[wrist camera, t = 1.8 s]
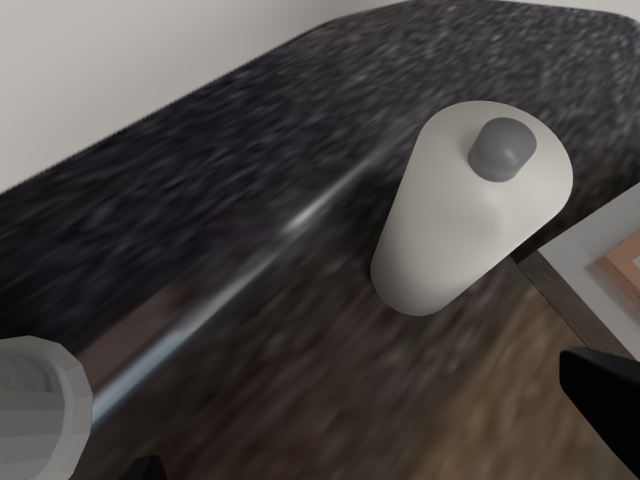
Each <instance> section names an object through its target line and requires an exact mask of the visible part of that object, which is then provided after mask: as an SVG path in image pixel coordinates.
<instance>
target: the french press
mask: <svg viewBox="0 0 640 480" xmlns="http://www.w3.org/2000/svg"><path fill="white" fill-rule="evenodd" d="M92 402H93V394H92V391H91V388H90V385H89V382H88V380H87V377H86V374H85V371H84V368H83V365H82V364H81V363H80V362H79V361H78V360H77V359H76V358H75V357H74V356H73V355H72V354H71V353H69V352H68V351H67V350H66V349H65V348H64V347H63V346H62V345H61V344H59V343H56V342H52V341H48V340H45V339H41V338H37V337H33V336H30V335H29V336H22V337H15V338H8V339H1V340H0V480H68V479H69V478H70V477H71V475H72V474H73V472H74V470H75V467H76V465H77V463H78V461H79V458H80V456H81V454H82V451H83V449H84V447H85V444H86V442H87V440H88V438H89V435H90V429H91V416H92Z"/></svg>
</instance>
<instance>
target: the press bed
mask: <svg viewBox="0 0 640 480" xmlns="http://www.w3.org/2000/svg"><path fill="white" fill-rule="evenodd" d="M517 265H518V266H519V267H520V269H521V270H522V271H523V272H524V273H525V274H526V275H527V277H528V278H529V279H530V280H531V281H532V282H533V284H534V285H535V286H536V287H537V288H538V289H539V291H540V292H541V293H542V294H543V295H544V296H545V298H546V299H547V300H548V301H549V302H550V303H551V304H552V306H553V307H554V308H555V309H556V310H557V311H558V313H559V314H560V315H561V316H562V317H563V318H564V320H565V321H566V322H567V323H568V324H569V325H570V327H571V328H572V329H573V330H574V331H575V332H576V333H577V335H578V336H579V337H580V338H581V339H582V340H583V342H584V343H585V344H586V345H587V346H588V347H589V348H590V349H594V350H597V351H601V352H605V353H609V354H613V355H617V356H620V357H624V358H628V359H632V360H636V361H639V362H640V182H639V183H638V184H636V185H635V186H633V187H632V188H630V189H629V190H627V191H626V192H624V193H623V194H621V195H619V196H618V197H616V198H615V199H613V200H612V201H610V202H609V203H607V204H606V205H604V206H603V207H601V208H600V209H598V210H597V211H595V212H594V213H592V214H591V215H589V216H588V217H586V218H585V219H583V220H582V221H580V222H578V223H577V224H575V225H574V226H572V227H571V228H569V229H568V230H566V231H565V232H563V233H562V234H560V235H559V236H557V237H556V238H554V239H553V240H551V241H550V242H548V243H547V244H545V245H544V246H542V247H541V248H539V249H537V250H536V251H535V252H533V253H532V254H531V255H529V256H528V257H527V258H525V259H524V260H523V261H521V262H520V263H518V264H517Z"/></svg>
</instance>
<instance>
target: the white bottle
mask: <svg viewBox="0 0 640 480" xmlns="http://www.w3.org/2000/svg"><path fill="white" fill-rule="evenodd" d="M572 183H573V174H572V167H571V163H570V159H569V157H568V155H567V152H566V150H565V149H564V147H563V145H562V143H561V142H560V141H559V139H558V138H557V137H556V136H555V134H554V133H553V132H552V131H551V130H550V129H549V128H548V127H546V126H545V125H544V124H543V123H542V122H540V121H539V120H538V119H536V118H535V117H533V116H531V115H530V114H528V113H526V112H524V111H522V110H520V109H517V108H515V107H512V106H509V105H506V104H501V103H497V102H490V101H468V102H463V103H458V104H455V105H452V106H449V107H447V108H445V109H443V110H441V111H440V112H438V113H436V114H435V115H434V116H433V117H431V118H430V120H429V121H428V122H427V123H426V124H425V125H424V127H423V129H422V130H421V132H420V134H419V137H418V139H417V142H416V144H415V147H414V150H413V152H412V155H411V158H410V160H409V163H408V165H407V168H406V171H405V173H404V176H403V179H402V181H401V184H400V187H399V189H398V192H397V194H396V197H395V200H394V202H393V205H392V208H391V210H390V213H389V215H388V218H387V221H386V223H385V226H384V229H383V231H382V234H381V237H380V239H379V242H378V244H377V247H376V250H375V252H374V255H373V258H372V261H371V267H370V274H371V280H372V284H373V286H374V288H375V290H376V292H377V294H378V295H379V297H380V298H381V299H382V300H383V301H384V302H385V303H386V304H387V305H388V306H390V307H391V308H393V309H394V310H396V311H398V312H401V313H403V314H407V315H412V316H425V315H430V314H433V313H435V312H437V311H439V310H441V309H442V308H444V307H445V306H446V305H447V304H449V303H450V302H451V301H452V300H454V299H455V298H456V297H457V296H458V295H460V294H461V293H462V292H463V291H464V290H466V289H467V288H468V287H469V286H471V285H472V284H473V283H474V282H475V281H477V280H478V279H479V278H480V277H481V276H483V275H484V274H485V273H486V272H488V271H489V270H490V269H491V268H492V267H494V266H495V265H496V264H497V263H498V262H500V261H501V260H502V259H503V258H505V257H506V256H507V255H508V254H509V253H511V252H512V251H513V250H514V249H516V248H517V247H518V246H519V245H520V244H522V243H523V242H524V241H525V240H526V239H528V238H529V237H530V236H531V235H533V234H534V233H535V232H536V231H537V230H539V229H540V228H541V227H542V226H543V225H545V224H546V223H547V222H548V221H550V220H551V219H552V218H553V217H554V216H556V215H557V214H558V213H559V212H560V211H561V209H562V208H563V207H564V205H565V204H566V202H567V201H568V198H569V196H570V193H571V189H572Z"/></svg>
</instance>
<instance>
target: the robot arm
mask: <svg viewBox="0 0 640 480" xmlns="http://www.w3.org/2000/svg"><path fill="white" fill-rule="evenodd" d="M559 380H560V385H561V387H562V389H563V391H564V392H565V394H566V395H567V396H568V397H569V399H570V400H571V401H572V402H573V404H574V405H575V406H576V407H577V408H578V410H579V411H580V412H581V413H582V415H583V416H584V417H585V418H586V420H587V421H588V422H589V423H590V425H591V426H592V427H593V428H594V429H595V431H596V432H597V433H598V434H599V436H600V437H601V438H602V439H603V441H604V442H605V443H606V444H607V445H608V447H609V448H610V449H611V450H612V451H613V452H614V453H615V455H616V456H617V457H618V458H619V459H620V460H621V461H622V462H623V463H624V464H625V465H626V466H627V467H628V468H629V470H630V471H631V472H632V473H633V474H634V475H635V476H636V477H637V478H638V479H639V480H640V362H639V361H636V360H632V359H628V358H624V357H620V356H617V355H613V354H609V353H605V352H601V351H597V350H594V349H590V348H586V347H582V346H575V347H571V348H567V349H564V350H562V351H561V353H560V364H559ZM118 480H168V479H167V476H166V473H165V470H164V468H163V465H162V462H161V459H160V457H159V456H158V455H155V454H153V455H149V456H146V457H142V458H138V459H136V460H135V461H134V462H133V463H132V464H131V465H130V466H129V467H128V468H127V470H126V471H125V472H124V473H123V474H122V475H121V476H120V477H119V478H118Z"/></svg>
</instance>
